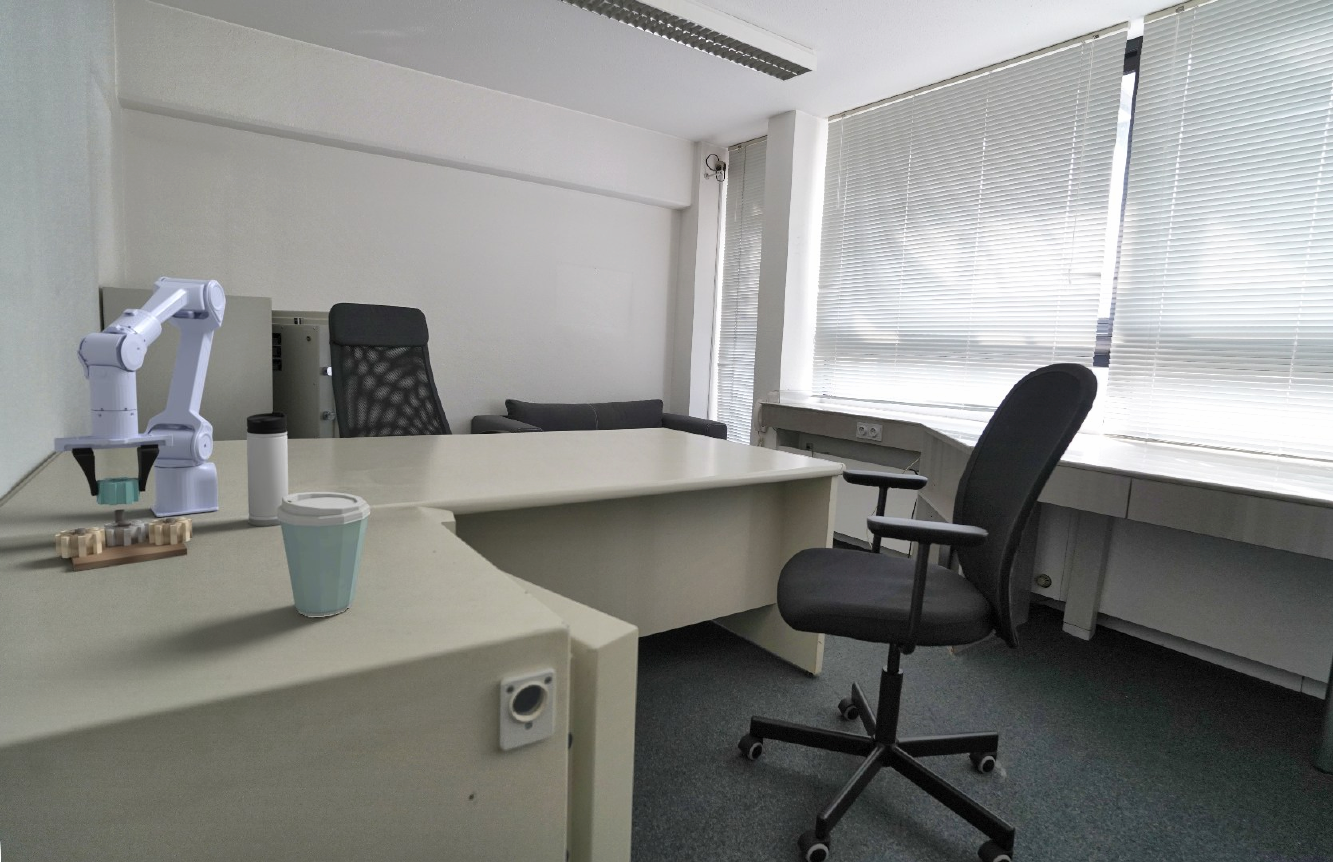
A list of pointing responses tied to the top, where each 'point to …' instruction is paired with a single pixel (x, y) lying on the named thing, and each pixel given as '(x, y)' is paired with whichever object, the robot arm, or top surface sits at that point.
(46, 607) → the top surface
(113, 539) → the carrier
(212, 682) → the top surface
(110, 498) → the teal gear
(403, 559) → the top surface
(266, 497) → the travel mug
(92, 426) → the robot arm
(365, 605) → the top surface
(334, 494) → the disposable coffee cup
